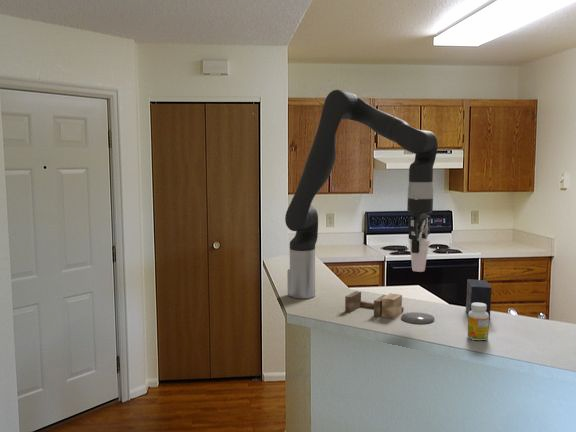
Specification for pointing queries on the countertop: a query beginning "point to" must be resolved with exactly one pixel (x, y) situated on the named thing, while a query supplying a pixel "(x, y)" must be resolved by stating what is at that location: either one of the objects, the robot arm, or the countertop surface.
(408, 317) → the coaster
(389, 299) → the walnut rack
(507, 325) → the countertop surface
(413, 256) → the smoothie
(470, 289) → the small box
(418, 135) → the robot arm
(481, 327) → the supplement bottle
